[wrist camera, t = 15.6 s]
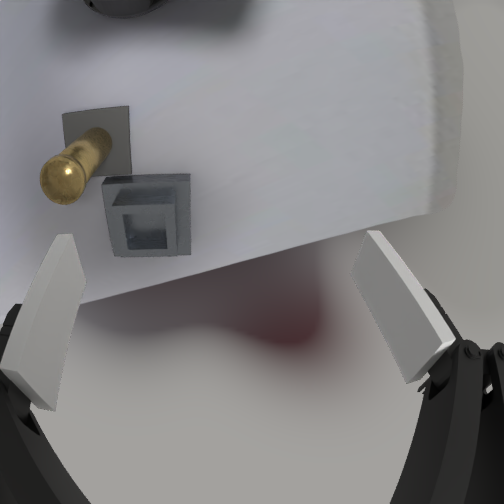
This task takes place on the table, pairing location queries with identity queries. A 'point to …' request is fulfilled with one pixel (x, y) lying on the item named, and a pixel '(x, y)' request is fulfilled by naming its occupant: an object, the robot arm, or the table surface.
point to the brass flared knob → (75, 166)
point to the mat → (114, 124)
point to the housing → (148, 214)
